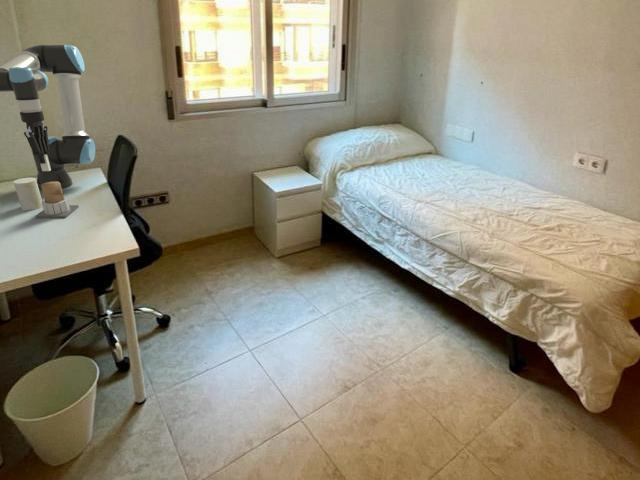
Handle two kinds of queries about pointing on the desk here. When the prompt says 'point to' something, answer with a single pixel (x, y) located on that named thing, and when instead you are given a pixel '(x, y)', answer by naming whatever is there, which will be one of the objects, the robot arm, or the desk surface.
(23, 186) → the cup
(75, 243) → the desk surface
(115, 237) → the desk surface
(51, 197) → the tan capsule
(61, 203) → the socket
